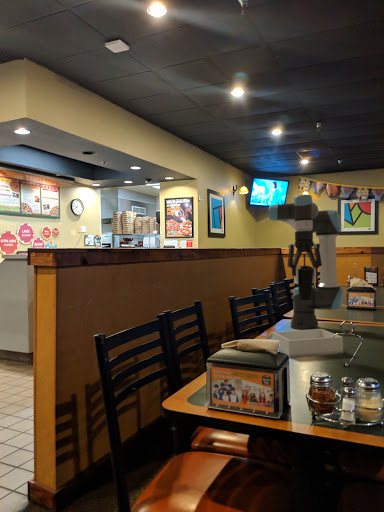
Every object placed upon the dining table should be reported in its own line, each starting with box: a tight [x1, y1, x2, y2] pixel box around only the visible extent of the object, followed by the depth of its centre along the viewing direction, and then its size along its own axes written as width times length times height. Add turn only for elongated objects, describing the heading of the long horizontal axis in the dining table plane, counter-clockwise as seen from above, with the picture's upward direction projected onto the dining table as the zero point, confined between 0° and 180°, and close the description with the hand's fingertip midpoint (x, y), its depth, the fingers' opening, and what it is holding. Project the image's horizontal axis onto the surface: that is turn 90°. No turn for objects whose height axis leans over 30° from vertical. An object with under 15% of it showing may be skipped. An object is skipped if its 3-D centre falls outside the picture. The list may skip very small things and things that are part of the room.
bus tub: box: [272, 328, 344, 358], centre depth 174 cm, size 24×18×7 cm
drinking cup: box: [296, 253, 314, 300], centre depth 174 cm, size 8×8×20 cm
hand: (305, 283), depth 174 cm, fingers closed on drinking cup, 7 cm apart
